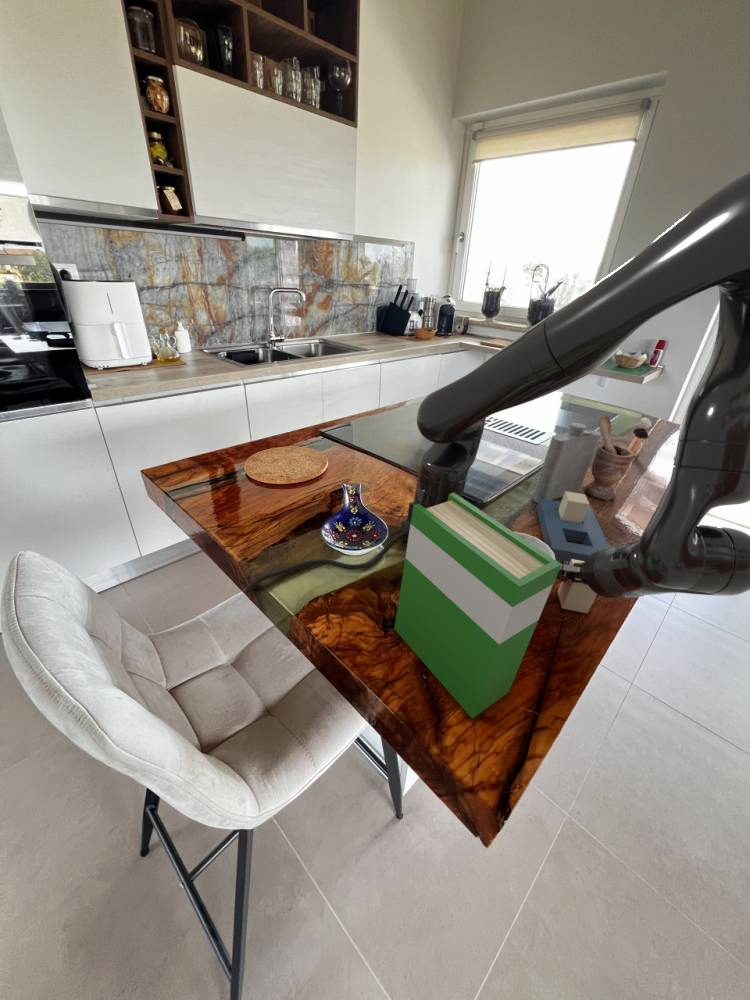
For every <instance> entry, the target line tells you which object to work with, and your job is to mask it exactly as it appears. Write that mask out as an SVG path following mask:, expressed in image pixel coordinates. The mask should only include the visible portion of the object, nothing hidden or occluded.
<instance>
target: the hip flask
mask: <svg viewBox="0 0 750 1000" xmlns="http://www.w3.org/2000/svg"><path fill="white" fill-rule="evenodd" d="M601 437H602V434H601V431H598V430H593V429H587V426H586V425H585V424H583V423H579V422H571V423H570V425H569V431H568V432H563V433H558V434H556V435H553V436H552V438H551V441H550V444H549V448H548V450H547V453H546V456H545V460H544V462H543V466H542V469H541V471H540V474H539V478H538V481H537V484H536V487H535V490H534V493H533V496H532V501H533V502H534V503H536V504H538V502H539V499H540V498H542V499H548V500H553V501H554V500H556V499H560V498H563V496H564V493H565V491H568V492H574V493H579V494H580V490H581V487H582V485H583V483H584V480H585V477H586V475H587V472H588V470H589V467H590V466H591V465H590V464H591V462H592V461H593V457H594V456H595V453H596V450H597V448H598V445H599V441H600V439H601Z"/></svg>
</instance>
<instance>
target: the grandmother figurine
mask: <svg viewBox="0 0 750 1000" xmlns="http://www.w3.org/2000/svg"><path fill="white" fill-rule="evenodd" d="M638 426H639V427H636V428H635V429H634V430H633V431H632V432H631V433H630V436H631V437H633V438H632V440H631V442H630V444H629V446H628V448H627V449H629V450H630V451H632V452H633V453H634V457H637V456H638V454H637V453H638V451H639V449H640V448H641V445H642V441H643V443H644V444H645V445H646V444H648V443H649V438H650V437H649V433H648V431H647V429H648V428H649V427H652V422H651V420H650V419H649V418H648V417H643V418H641V419H640V422H639V425H638Z"/></svg>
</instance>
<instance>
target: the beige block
mask: <svg viewBox="0 0 750 1000" xmlns="http://www.w3.org/2000/svg"><path fill="white" fill-rule="evenodd" d="M580 562H585V561H580V560H575V559H571V561H570V564H568V565H570V566H573V564H574V563H580ZM560 582H561V583H560V585H559V587H558V589H557V595H558V599H559V604H560V608H561V609H564V610H569V611H573V612H578V613H583V614H588V613H589V611H590V609H591V608H592V605H593V604H594V601H595V599H596V597H597V595H598V594H597V593H595V592H594V591H593V590H592V589H591V588H590V587H589V586H588V585H585V584H577V583H573V582H572V581H570V582H562V581H560Z"/></svg>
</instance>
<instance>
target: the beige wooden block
mask: <svg viewBox="0 0 750 1000" xmlns="http://www.w3.org/2000/svg"><path fill="white" fill-rule="evenodd" d="M561 498H562V499H561V501H560V502H561V504H560V506H559V509H558V515H559V518H560V520H565V521H570V522H576V523H582V521H583V519H584V516H585V514H586V511H587V509H588V507H590V502H589V499H588V498H587V496H586V494H584V493H580V492H579V493H574V492H568V491H565V493H564V496H563V497H561Z"/></svg>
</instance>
